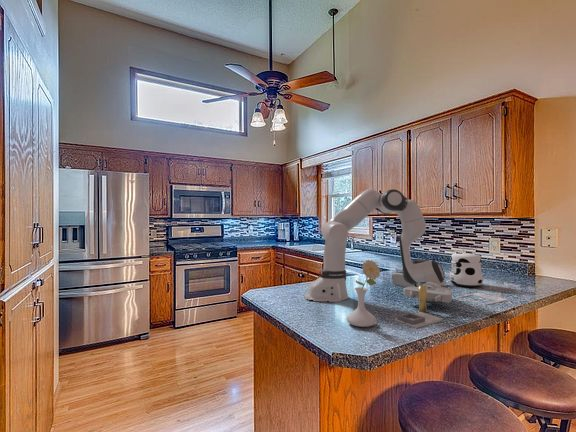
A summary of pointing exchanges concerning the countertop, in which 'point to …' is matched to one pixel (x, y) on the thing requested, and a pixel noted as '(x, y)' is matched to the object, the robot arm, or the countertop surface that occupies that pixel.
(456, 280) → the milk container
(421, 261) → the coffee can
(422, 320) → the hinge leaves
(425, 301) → the hinge pin
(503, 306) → the countertop surface
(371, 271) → the flower in vase
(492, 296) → the photo frame
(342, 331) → the countertop surface
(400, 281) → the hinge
